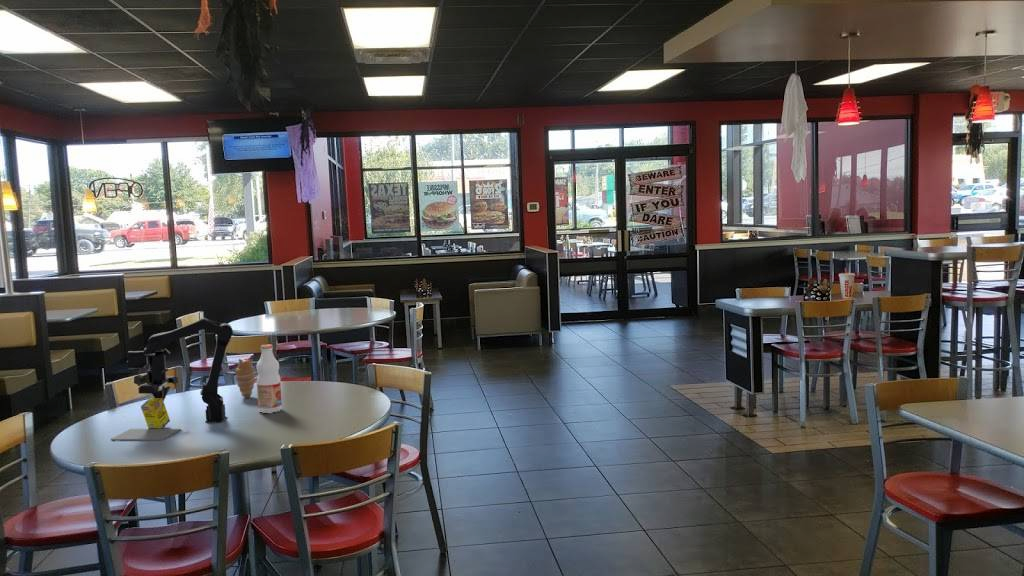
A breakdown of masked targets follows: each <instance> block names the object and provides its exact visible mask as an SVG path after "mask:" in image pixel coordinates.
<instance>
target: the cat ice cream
mask: <svg viewBox="0 0 1024 576" xmlns="http://www.w3.org/2000/svg"><path fill="white" fill-rule="evenodd" d="M238 363H239V364H238V365H237V368H235V370H234V375H236V376H235V380H236V382H237V387H238V388H239V391H240V393H241V396H242V397H243V398H245V399H248V398H250V397H251V396H252V394H253V389H254V387H255V385H254V384H255V383H256V373H255V372H256V371H255V367H254V365H253V363H252V361H251V357H248V358H247V359H240V358H238Z"/></svg>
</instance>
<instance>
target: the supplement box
mask: <svg viewBox="0 0 1024 576" xmlns="http://www.w3.org/2000/svg"><path fill="white" fill-rule="evenodd" d="M164 401H165V400H164ZM164 401H163V398H154V397H148V399H147V400H146V401H145V402H144V403H143V404H141V406H140V409H141V412H142V415H143V417H144V420H145V422H146V426H147V429H165V427H166V426H167V425H168V424H169V423H170V422H171V419H170V417H169V414H168V410H167V408H166V405H165V402H164Z"/></svg>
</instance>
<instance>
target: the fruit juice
mask: <svg viewBox="0 0 1024 576" xmlns="http://www.w3.org/2000/svg"><path fill="white" fill-rule="evenodd" d="M273 349H274V345H273V344H269V343H268V344H262V345H260V351H261V354H260V358H259V360H258V361H257V363H256V371H257V376H256V388H257V389H256V392H257V405H258V406H257V409H258V413H260V412H263V413H267V412H275V411H278V410H280V409H283V404H282V387H281V376H280V373H279V369H280V363H279V361H278V360H277V359H276V358H275V355H274V351H273ZM263 413H262V414H263Z"/></svg>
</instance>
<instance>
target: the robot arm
mask: <svg viewBox="0 0 1024 576" xmlns="http://www.w3.org/2000/svg"><path fill="white" fill-rule="evenodd" d="M202 330H205V331H208V332H210V333H212V334H214V335H216V345H215V350H214V353H213V354H214V355H213V359H212V363H211V367H210V371H209V375H208V379H207V381H206V382H204V381H203V382H202V386H201V390H200V396H201V400H202V401H203V403H205V404H206V409H204V410H205V419H206V420H205V423H222V422H223V420H224V421H225V420H227V419H228V416H226V405H225V404H224V398H223V396H221V395H220V394H219V393H218V392H219V391H218V390H219V380H220V379H219V378H220V375H221V369H222V365H223V362H224V359H225V358H224V357H225V354H226V353H225V352H226V350H227V347H228V346H229V345H228V344H229V343H230V341H231V338H232V336H233V334H234V333H233V332H234V331H233V327H232V325H230V324H229V323H227V322H223V323H220V322H217V321H213V320H211V319H208V318H206V317H201V318H200V319H198V320H195V321H193V322H191V323H188V324H186V325H183V326H180V327H179V328H176V329H173V330H170V331H166V332H165V331H163V332H160V333H156V334H152V335H151V336H149V338H148V341H147V345H146V347H144V348H143V350H135V351H133V350H129V351H128V352H127V361H126V362H127V369H128V370H137V369H145V367H146V366H148V365H149V369H148V370H147V371H146V374H144V375H141V374H137V375H135V376H134V377H133V384H135V385H137V386H138V388H137V390H138V391H137V392H138V394H143V395H144V394H148V395H149V394H151V395H153V398H163V401H165V399H166V397H167V396H168V392H169V391H170V389H171V386H168V384H170V383H171V384H173V385H176V384H178V383H179V381H178V380H179V378H178V377H177V376H175V375H167V372H168V371H169V367H168V368H167V366H166V363H167V362H166V356H170V354H171V351H169V350H168V349H167V348H165V347H167V346H169V345H171V344H172V343H173V342H175V341H177V340H179V339H182V338H184V337H187V336H189V335H192V334H194V333H197V332H200V331H202ZM163 348H164V349H163ZM162 349H163V350H162ZM153 352H154V353H153ZM148 363H149V364H148ZM226 418H227V419H226ZM221 421H222V422H221Z"/></svg>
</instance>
